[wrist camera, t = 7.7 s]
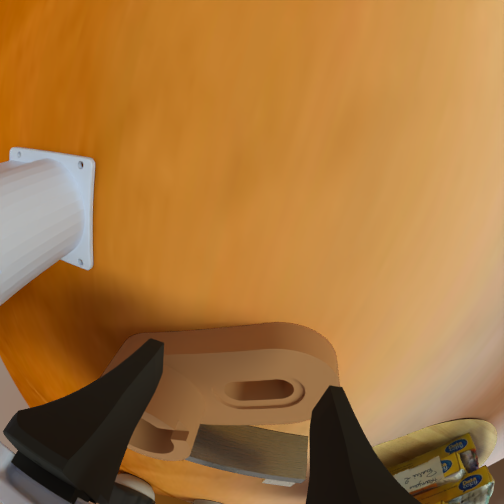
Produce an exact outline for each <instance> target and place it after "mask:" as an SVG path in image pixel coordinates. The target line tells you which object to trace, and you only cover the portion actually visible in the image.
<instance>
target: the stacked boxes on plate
mask: <svg viewBox="0 0 504 504" xmlns="http://www.w3.org/2000/svg"><path fill="white" fill-rule="evenodd" d="M496 441H497V432H496V429H495V427H494V426H493V425H492V424H490V423H489V422H487V421H483V420H477V419H465V420H456V421H450V422H445V423H440V424H436V425H432V426H429V427H426V428H423V429H421V430H419V431H415V432H413V433H410V434H407V436H403V437H400V438H397V439H395V440H391V441H388V442H384V443H381V444H379V445H377V446H374V447H372V448H373V450H374V451H375V453H376V455H377V456H378V457H379V459H380V460H381V462H382V463H383V465H384V466H385V467H386V468H387V470H388V471H389V472H390V473H391V474H392V476H393V477H394V478H395V479H396V480H397V481H398V482H399V483H400V485H401V486H402V487H403V488H405V489H406V490H407V491H408V492H409V493H410V494H411V495H412V496H413V497H415V498H416V499H417V500H418V501H419V502H421V503H422V504H488V502H489V499H490V496H491V495H492V492H493V488H494V479H493V478H492V476H491V474H490V472H489V471H488V468H487V466H486V465H485V466H482V464H483V463H484V462H485V461H486V460H487V458H488V457H489V456H490V454H491V453H492V451H493V449H494V447H495V445H496ZM481 466H482V467H481Z"/></svg>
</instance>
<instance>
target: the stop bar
mask: <svg viewBox="0 0 504 504" xmlns="http://www.w3.org/2000/svg"><path fill="white" fill-rule="evenodd" d="M307 447H308V437H306V436H300V435H293V434H287V433H282V432H276V431H271V430H266V429H261V428H257V427H252V426H248V425H209V424H200V426H199V429H198V432H197V435H196V438H195V441H194V444H193V447H192V450H191V454H190V456H189V457H188V458H186V459H185V460H188V461H191V462H195V463H198V464H201V465H205V466H209V467H213V468H216V469H220V470H225V471H229V472H233V473H238V474H243V475H248V476H253V477H258V478H263V480H262V483H266V484H273V485H280V486H288V487H291V486H292V485H294V484H295V483H302V482H303V481H305V480H306V469H307Z"/></svg>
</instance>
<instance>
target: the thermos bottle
mask: <svg viewBox="0 0 504 504" xmlns="http://www.w3.org/2000/svg"><path fill="white" fill-rule="evenodd" d="M193 504H222V503H219V502H214V501H209V500H201V499H197V500H194V502H193Z"/></svg>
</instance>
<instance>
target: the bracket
mask: <svg viewBox="0 0 504 504" xmlns="http://www.w3.org/2000/svg"><path fill="white" fill-rule="evenodd" d="M150 338H152V339H155V340H158V341H161V342H164V359H163V374H162V376H161V379H160V381H159V384H158V386H157V389H156V391H155V393H154V395H153V397H152V399H151V401H150V402H149V404H148V406H147V408H146V410H145V411H144V413H143V415H142V417H141V419H140V421H139V422H138V424H137V426H136V428H135V430H134V432H133V434H132V436H131V439H130V441H129V444H128V446H127V448H129V449H131V450H133V451H135V452H137V453H140V454H143V455H145V456H148V457H152V458H155V459H160V460H166V461H180V460H184V459H186V458H188V457H189V456H190V454H191V450H192V447H193V444H194V441H195V438H196V435H197V432H198V429H199V426H200V424H209V425H276V424H292V423H299V422H303V421H307V420H310V419H311V415H312V410H313V408H314V407H315V406H316V404H317V403H318V401H319V400H320V398H321V397H322V395H323V394H324V393H325V391H326V390H327V388H328V387H329V385H332V386H338V387H340V382H339V372H338V363H337V356H336V352H335V350H334V348H333V346H332V345H331V343H330V342H329V341H328V340H327V339H326V338H325V337H324V336H322V335H321V334H320V333H318V332H316V331H314V330H312V329H310V328H308V327H305V326H302V325H298V324H293V323H285V322H272V323H263V324H254V325H245V326H235V327H224V328H213V329H201V330H188V331H172V332H154V333H139V334H135V335H133V336H131V337H129V338H128V339H127V340H126V341H125V342H124V344H123V345H122V346H121V348H120V349H119V351H118V352H117V354H116V355H115V357H114V358H113V359H112V361H111V362H110V364H109V365H108V367H107V368H106V370H105V371H104V373H103V374H102V375H101V377H102V376H103V375H105V374H106V373H108V372H109V371H111V370H112V369H114V368H115V367H116V366H118V365H119V364H120V363H121V362H123V361H124V360H125V359H127V358H128V357H129V356H130V355H131V354H133V353H134V352H135V351H136V350H137V349H138V348H140V347H141V346H142V345H143V344H144V343H145V342H146V341H147V340H148V339H150ZM101 377H100V378H101Z"/></svg>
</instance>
